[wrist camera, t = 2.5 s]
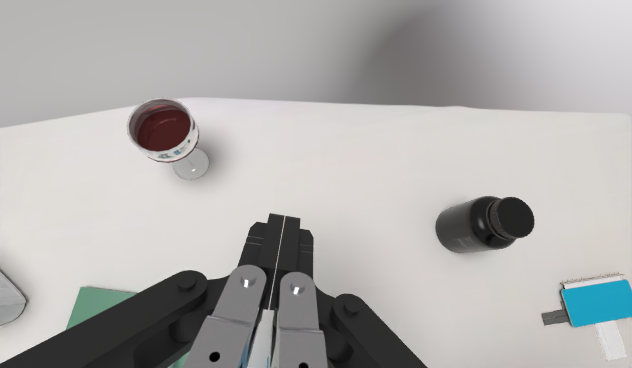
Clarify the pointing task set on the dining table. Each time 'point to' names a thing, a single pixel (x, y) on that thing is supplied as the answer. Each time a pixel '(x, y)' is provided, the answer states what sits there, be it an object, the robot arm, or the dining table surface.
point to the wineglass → (168, 136)
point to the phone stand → (597, 309)
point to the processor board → (102, 308)
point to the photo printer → (9, 301)
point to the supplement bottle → (484, 224)
